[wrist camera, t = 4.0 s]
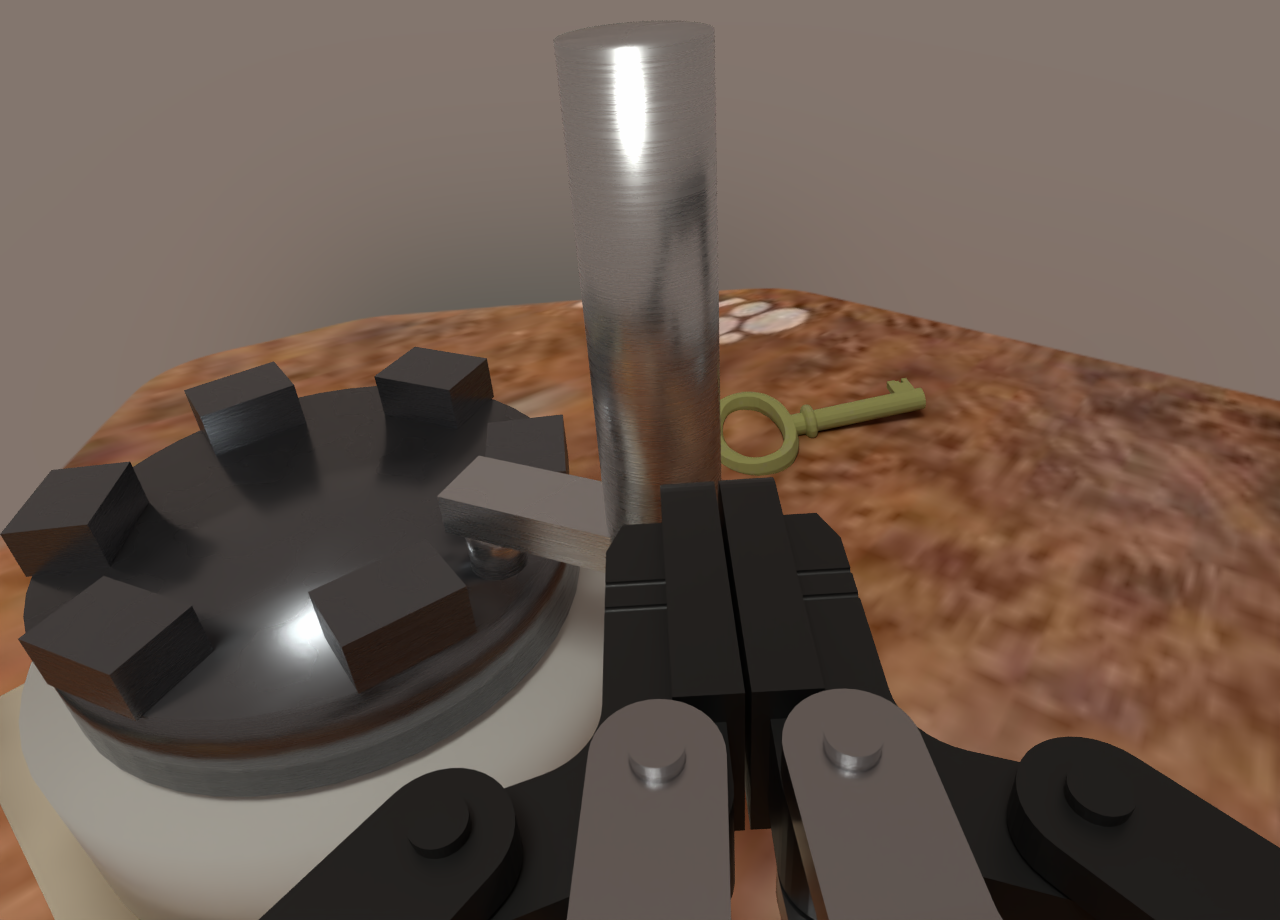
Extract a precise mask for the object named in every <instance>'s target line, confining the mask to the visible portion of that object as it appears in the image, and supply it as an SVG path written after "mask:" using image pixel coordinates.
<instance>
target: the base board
mask: <svg viewBox="0 0 1280 920" xmlns="http://www.w3.org/2000/svg"><path fill="white" fill-rule="evenodd" d="M24 685H25V683H24V684H23V685H21V686H19V687H17V688H15V689H13V690H11V691H9V692H8V693H6V694H4V695H2V696H0V804H1V806H2V808H3V811H4V813H5V815H6V817H7V819H8V821H9V823H10V825H11V827H12V830H13V832H14V834H15V836H16V838H17V840H18V842H19V844H20V846H21V849H22V851H23V853H24V855H25V857H26V859H27V861H28V863H29V866H30V868H31V870H32V872H33V874H34V876H35V878H36V880H37V882H38V885H39V887H40V889H41V891H42V893H43V895H44V897H45V899H46V902H47V904H48V906H49V908H50V910H51V912H52V914H53V916H54V918H55V920H140V919H139V918H138V917H137V916H136V915H135V914H134V913H133V912H132V911H130V910H129V909H128V908H127V907H126V906H125V905H124V904H123V903H122V901H121V900H120V899H119V897H118V896H117V894H116V893H115V892H114V890H113V889H112V888H111V886H110V885H109V883H108V882H107V881H106V879H105V878H104V877H103V875H102V874H101V872H100V871H99V870H98V868H97V867H96V866H95V864H94V863H93V861H92V860H91V859H90V857H89V856H88V855H87V853H86V852H85V851H84V849H83V848H82V846H81V845H80V844H79V842H78V841H77V840H76V838H75V837H74V835H73V834H72V833H71V831H70V830H69V829H68V827H67V826H66V824H65V823H64V822H63V820H62V819H61V818H60V816H59V815H58V813H57V812H56V811H55V809H54V808H53V807H52V805H51V804H50V803H49V801H48V800H47V798H46V797H45V795H44V794H43V793H42V791H41V790H40V788H39V787H38V785H37V784H36V783H35V781H34V780H33V778H32V776H31V774H30V771H29V768H28V766H27V763H26V760H25V758H24V755H23V752H22V748H21V739H20V730H19V714H20V705H21V696H22V691H23V688H24Z"/></svg>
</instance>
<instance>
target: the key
mask: <svg viewBox="0 0 1280 920" xmlns="http://www.w3.org/2000/svg"><path fill="white" fill-rule="evenodd" d="M887 389H888V390H889V392H890V393H891V394H888V395H883V396H878V397H874V398H869V399H864V400H859V401H855V402H850V403H845V404H840V405H836V406H831V407H826V408H822V409H817V410H813V409H812V407H811V406H809V405H803V406H802V407H801V410H800V413H798V414H793V415H790V414H789V412H788V411H787V410H786V408H785V407H784V406H783V405H782V404H781V403H780V402H779V401H777V400H776V399H774V398H772V397H770V396H768V395H766V394H762V393H757V392H742V393H736V394H733V395H729V396H727V397H725V398H723V399H721V400H720V419H721V463H722V464H723V465H725V466H727V467H728V468H730V469H732V470H734V471H737V472H739V473H743V474H748V475H757V476H759V475H769V474H774V473H778V472H780V471H783V470H785V469H786V468H788V467H789V466H790V465H792V464H793V463H794V461H795V458H796V456H797V453H798V447H799V439H798V435H802V434H806V435H807V436H808V437H810V438H815V437H816V436H817V433H818V431H821V430H825V429H830V428H835V427H840V426H844V425H849V424H854V423H859V422H863V421H868V420H873V419H877V418H882V417H887V416H892V415H896V414H901V413H906V412H911V411H915V410H920V409H924V408H925V406H926V400H925V395H924V392H923V390H922V389H921V388H916V389H914V388H913V386H912V385H911V384H910V383H909V381H908V380H907V379H906V378H903V379H901V383H900V382H899V381H896V382H895V381H894V380H893V381H888V382H887ZM737 410H754V411H758V412H760V413H762V414H764V415H766V416H767V417H769V418H770V419H771V420H772V421H773V422H774V423H775V424H776V425H777V427H778V428H779V429H780V431H781V433H782V435H783V438H784V443H783V446H782V447H781V448H780V449H779V450H778V451H776V452H775V453H772V454H770V455H767V456H764V457H758V458H752V457H745V456H743V455H740V454H738V453H737V452H735V451H733V450H732V449H730V448H729V447H728V446H727V444H726V442H725V440H724V437H723V423H724V421H725V418H726V417H727V415H729V414H730V413H732V412H734V411H737Z"/></svg>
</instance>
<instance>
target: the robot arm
mask: <svg viewBox="0 0 1280 920" xmlns="http://www.w3.org/2000/svg"><path fill="white" fill-rule="evenodd" d="M660 495H661V512H662V523H649V524H633V525H622V527H621V528H620V530H619V532H618V533H617V535H616V537H615V538H614V540H613V541H612V543H611V545H610V546H609V548H608V550H607V551H606V568H605V614H604V648H603V687H602V710H601V717H600V720H599V723H598V726H597V728H596V730H595V732H594V734H593V736H592V737H591V739H590V740H589V742H588V743H587V744H586V746H585V747H584V748H583V749H582V750H581V751H580V752H579V753H578V754H577V755H576V756H574V757H573V758H572V759H571V760H569V761H568V762H567V763H565V764H563V765H561V766H560V767H558V768H556V769H554V770H552V771H550V772H547V773H545V774H543V775H540V776H537V777H534V778H532V779H529V780H526V781H523V782H520V783H518V784H515V785H512V786H509V787H507V788H503V786H502V785H501V784H500V783H499V782H497V781H496V780H495V779H494V778H492V777H490V776H489V775H487V774H485V773H483V772H480V771H477V770H473V769H467V768H447V769H441V770H436V771H433V772H430V773H427V774H424V775H422V776H420V777H418V778H415V779H414V780H412V781H410V782H409V783H407V784H406V785H404V786H403V787H401V788H400V789H399V790H398V791H396V792H395V793H394V794H393V795H392V796H391V797H390V798H389V799H387V800H386V801H385V802H384V803H383V804H382V805H381V806H380V807H379V808H378V809H377V810H376V811H375V812H374V813H372V814H371V815H370V816H369V817H368V818H367V819H366V820H365V821H364V822H363V823H362V824H361V825H360V826H358V827H357V828H356V829H355V830H354V831H353V832H352V833H351V834H350V835H349V836H348V837H347V838H346V839H345V840H343V841H342V842H341V843H340V844H339V845H338V846H337V847H336V848H335V849H334V850H333V851H332V852H331V853H329V854H328V855H327V856H326V857H325V858H324V859H323V860H322V861H321V862H320V863H319V864H318V865H317V866H316V867H314V868H313V869H312V870H311V871H310V872H309V873H308V874H307V875H306V876H305V877H304V878H303V879H302V880H300V881H299V882H298V883H297V884H296V885H295V886H294V887H293V888H292V889H291V890H290V891H289V892H288V893H287V894H285V895H284V896H283V897H282V898H281V899H280V900H279V901H278V902H277V903H276V904H275V905H274V906H273V907H272V908H270V909H269V910H268V911H267V912H266V913H265V914H264V915H263V916H262V917H261V918H260V919H259V920H731V897H732V895H733V890H734V884H735V859H734V831H740V830H745V791H746V799H747V806H748V814H749V822H750V829H770V828H771V830H772V837H773V843H774V850H775V856H776V863H777V877H776V896H777V903H778V907H779V912H780V916H781V920H1280V848H1279V847H1277V846H1276V845H1274V844H1273V843H1271V842H1269V841H1268V840H1266V839H1265V838H1263V837H1262V836H1260V835H1258V834H1257V833H1255V832H1254V831H1252V830H1250V829H1249V828H1247V827H1246V826H1244V825H1243V824H1241V823H1239V822H1238V821H1236V820H1235V819H1233V818H1231V817H1230V816H1228V815H1227V814H1225V813H1224V812H1222V811H1220V810H1219V809H1217V808H1216V807H1214V806H1212V805H1211V804H1209V803H1208V802H1206V801H1205V800H1203V799H1201V798H1200V797H1198V796H1197V795H1195V794H1193V793H1192V792H1190V791H1189V790H1187V789H1186V788H1184V787H1182V786H1181V785H1179V784H1178V783H1176V782H1174V781H1173V780H1171V779H1170V778H1168V777H1167V776H1165V775H1163V774H1162V773H1160V772H1159V771H1157V770H1155V769H1154V768H1152V767H1151V766H1149V765H1148V764H1146V763H1144V762H1143V761H1141V760H1140V759H1138V758H1136V757H1135V756H1133V755H1131V754H1129V753H1128V752H1126V751H1124V750H1122V749H1120V748H1118V747H1115V746H1113V745H1111V744H1108V743H1105V742H1101V741H1098V740H1094V739H1089V738H1083V737H1060V738H1054V739H1050V740H1046V741H1044V742H1042V743H1040V744H1038V745H1035V746H1034V747H1033V748H1032V749H1030V750H1029V751H1028V752H1027V753H1026V754H1025V756H1024V757H1023V758H1022V759H1021V762H1017V761H1012V760H1008V759H1003V758H999V757H994V756H990V755H985V754H981V753H976V752H972V751H967V750H964V749H960V748H957V747H953V746H951V745H948V744H946V743H943V742H941V741H939V740H937V739H935V738H933V737H932V736H930V735H928V734H926V733H925V732H924V731H922V730H921V729H919V728H918V727H917V726H916V725H915V724H914V722H913V721H912V720H911V718H910V717H909V716H908V715H907V714H906V713H905V712H904V711H903V710H901V709H900V708H899V707H898V706H897V705H896V703H895V701H894V700H893V698H892V695H891V693H890V691H889V688H888V685H887V682H886V678H885V675H884V672H883V669H882V666H881V663H880V660H879V656H878V653H877V650H876V647H875V644H874V641H873V638H872V634H871V631H870V628H869V625H868V622H867V619H866V616H865V612H864V609H863V606H862V603H861V600H860V598H858V590H857V587H856V584H855V581H854V578H853V575H852V573H851V572H850V565H849V562H848V559H847V556H846V553H845V550H844V546H843V543H842V540H841V537H840V536H839V535H838V534H837V533H836V532H835V531H834V530H833V529H832V528H831V527H830V526H829V525H828V524H827V523H826V522H825V521H824V520H823V519H822V518H821V517H820V516H819V515H818V514H817V513H807V514H791V515H783V513H782V509H781V504H780V500H779V496H778V492H777V488H776V484H775V481H774V478H773V477H769V478H753V479H737V480H721V481H718V503H717V496H716V489H715V484H714V481H709V482H693V483H677V484H661V485H660Z"/></svg>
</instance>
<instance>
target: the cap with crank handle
mask: <svg viewBox="0 0 1280 920" xmlns="http://www.w3.org/2000/svg"><path fill="white" fill-rule="evenodd" d="M714 34H715V33H714V27H713V26H711V25H708V24H704V23H698V22H689V21H642V22H627V23H617V24H608V25H601V26H594V27H589V28H584V29H579V30H575V31H571V32H567V33H564V34H562V35H559V36H557V37H556V38H555V39H554V48H555V57H556V66H557V76H558V84H559V94H560V103H561V112H562V121H563V130H564V139H565V148H566V158H567V167H568V176H569V185H570V194H571V203H572V213H573V222H574V230H575V240H576V249H577V257H578V267H579V276H580V285H581V295H582V304H583V313H584V322H585V331H586V340H587V349H588V359H589V368H590V377H591V386H592V395H593V404H594V413H595V422H596V432H597V441H598V450H599V459H600V468H601V477H602V482H601V481H596V480H592V479H587V478H582V477H578V476H573V475H569V462H568V451H567V444H566V436H565V429H564V421H563V415H554V416H545V417H536V418H529V417H528V416H526V415H524V414H523V413H521V412H519V411H518V410H516V409H514V408H512V407H510V406H507V405H505V404H503V403H500V402H498V401H496V400H493V399H492V398H493V397H494V395H493V389H492V384H491V379H490V373H489V368H488V362H487V358H480V357H474V356H468V355H462V354H456V353H450V352H444V351H437V350H431V349H425V348H419V347H414V348H413V349H411V350H410V351H408V352H407V353H406V354H404V355H403V356H402V357H400V358H399V359H398V360H396V361H395V362H393V363H392V364H391V365H389V366H388V367H387V368H385V369H384V370H383V371H381V372H380V373H379V374H377V375H376V376H374V377H375V380H376V384H377V386H373V387H362V388H352V389H344V390H337V391H331V392H324V393H318V394H314V395H309V396H304V397H300V398H298V396H297V393H296V390H295V387H294V384H293V383H292V382H291V381H290V380H289V379H288V377H287V376H286V375H285V374H284V373H283V372H282V370H281V369H280V368H279V367H278V366H277V365H276V363H275V362H271V363H268V364H265V365H261V366H258V367H255V368H252V369H249V370H246V371H243V372H240V373H237V374H234V375H230V376H227V377H224V378H221V379H218V380H215V381H212V382H209V383H206V384H202V385H199V386H196V387H193V388H190V389H187V390H184V391H185V394H186V396H187V399H188V401H189V403H190V406H191V408H192V411H193V413H194V416H195V418H196V421H197V423H198V425H199V428H200V431H198V432H196V433H194V434H192V435H190V436H188V437H185V438H183V439H181V440H179V441H177V442H175V443H173V444H172V445H170V446H168V447H166V448H164V449H162V450H161V451H159V452H157V453H155V454H153V455H151V456H150V457H148V458H147V459H145V460H144V461H142V462H140V463H139V464H137V465H136V466H134V467H132V465H131V463H130V462H123V463H113V464H104V465H95V466H86V467H77V468H67V469H58V470H51V472H50V473H49V474H48V475H47V477H46V478H45V479H44V480H43V482H42V483H41V484H40V485H39V487H38V488H37V489H36V490H35V491H34V493H33V494H32V495H31V496H30V498H29V499H28V500H27V501H26V503H25V504H24V505H23V507H22V508H21V509H20V510H19V511H18V513H17V514H16V515H15V516H14V518H13V519H12V520H11V522H10V523H9V524H8V525H7V526H6V528H5V529H4V530H3V531H2V533H1V534H0V535H1V536H2V538H3V539H4V541H5V543H6V544H7V546H8V548H9V549H10V551H11V553H12V554H13V556H14V557H15V559H16V561H17V562H18V564H19V566H20V567H21V569H22V571H23V572H24V574H25V576H26V577H28V576H32V578H31V581H30V584H29V587H28V590H27V593H26V599H25V608H24V616H23V617H24V624H25V632H26V633H25V634H24V635H23V636H21V637H20V638H19V639H18V640H19V641H20V643H21V644H22V646H23V647H24V649H25V650H26V652H27V654H28V655H29V657H30V658H31V660H32V661H33V663H34V664H35V666H36V667H37V669H38V670H39V672H40V674H41V675H42V677H43V678H44V680H45V681H46V683H47V684H48V685H50V686H53V687H54V688H55V690H56V691H57V693H58V694H59V696H60V698H61V699H62V701H63V702H64V704H65V705H66V707H67V708H68V710H69V711H70V713H71V715H72V716H73V718H74V719H75V721H76V722H77V724H78V725H79V727H80V729H81V730H82V732H83V733H84V735H85V736H86V737H87V738H88V739H89V741H90V742H91V743H92V744H93V746H94V747H95V748H96V749H97V751H98V752H99V753H100V754H101V755H103V756H104V757H105V758H107V759H108V760H109V761H110V762H112V763H113V764H114V765H116V766H117V767H118V768H120V769H121V770H123V771H125V772H127V773H129V774H131V775H133V776H135V777H137V778H139V779H141V780H143V781H145V782H147V783H151V784H154V785H158V786H161V787H165V788H168V789H172V790H175V791H179V792H185V793H193V794H200V795H208V796H215V797H257V796H266V795H275V794H284V793H293V792H299V791H304V790H309V789H313V788H318V787H322V786H327V785H332V784H336V783H340V782H343V781H346V780H349V779H352V778H355V777H359V776H362V775H365V774H368V773H371V772H374V771H377V770H380V769H382V768H385V767H387V766H389V765H392V764H394V763H396V762H399V761H401V760H403V759H406V758H408V757H410V756H413V755H415V754H417V753H419V752H421V751H423V750H425V749H427V748H428V747H430V746H432V745H434V744H436V743H438V742H439V741H441V740H443V739H445V738H447V737H449V736H450V735H452V734H454V733H456V732H457V731H458V730H460V729H461V728H463V727H464V726H466V725H467V724H469V723H470V722H472V721H473V720H475V719H476V718H478V717H479V716H480V715H482V714H483V713H485V712H486V711H488V710H489V709H490V708H491V707H492V706H493V705H495V704H496V703H497V702H498V701H499V700H501V699H502V698H503V697H504V696H505V695H506V694H508V693H509V692H510V691H511V690H512V689H514V688H515V687H516V686H517V685H518V683H519V682H520V681H521V680H522V679H523V678H524V677H525V676H526V675H527V674H528V673H529V672H530V671H531V670H532V669H533V668H534V666H535V665H536V664H537V663H538V662H539V661H540V659H541V658H542V656H543V655H544V654H545V652H546V651H547V650H548V648H549V647H550V646H551V644H552V643H553V641H554V640H555V639H556V637H557V635H558V633H559V631H560V629H561V627H562V626H563V624H564V622H565V620H566V618H567V616H568V614H569V611H570V608H571V605H572V603H573V600H574V597H575V594H576V590H577V584H578V577H579V571H580V567H584V568H588V569H591V570H595V571H599V572H603V573H605V568H606V551H607V550H608V548H609V546H610V545H611V543H612V541H613V540H614V538H615V537H616V535H617V533H618V532H619V530H620V528H621V527H622V525H633V524H649V523H662V512H661V495H660V485H661V484H677V483H693V482H709V481H714V484H715V489H716V496H717V503H718V481H721V419H720V355H719V290H718V226H717V165H716V164H717V161H716V96H715V35H714Z"/></svg>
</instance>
